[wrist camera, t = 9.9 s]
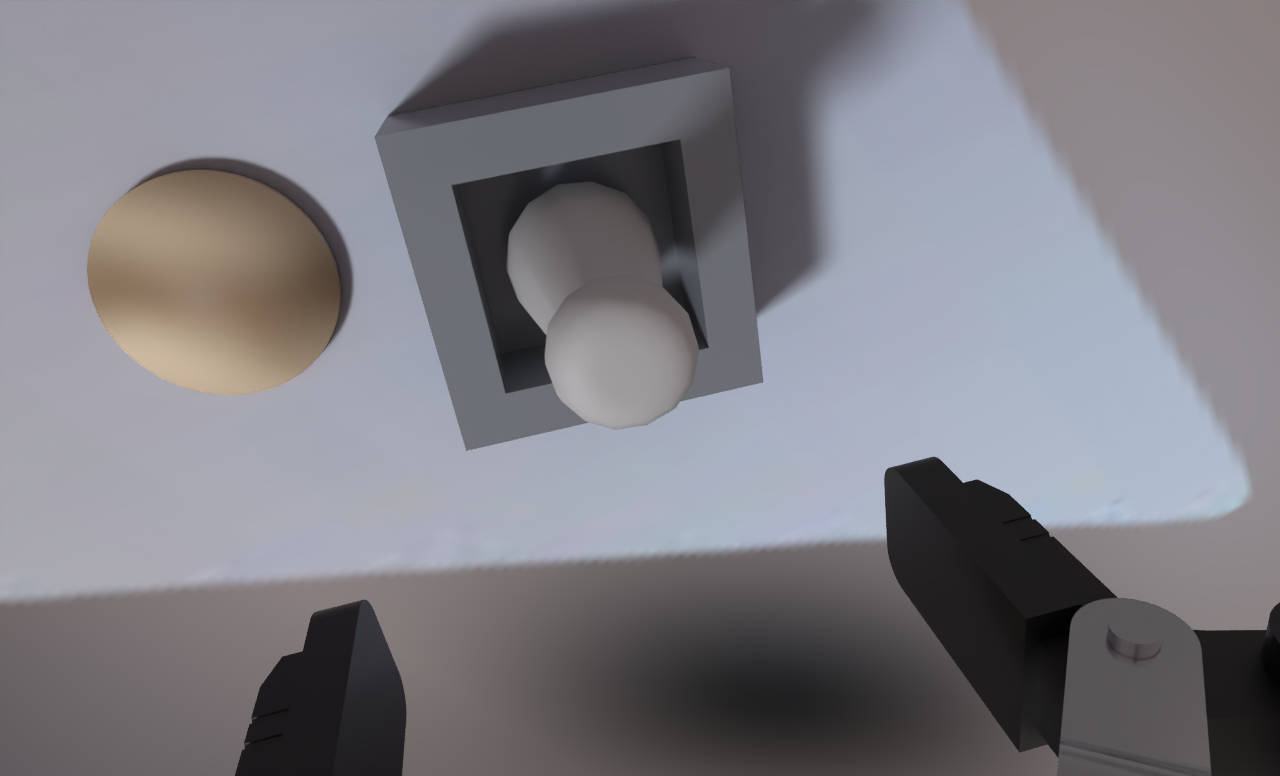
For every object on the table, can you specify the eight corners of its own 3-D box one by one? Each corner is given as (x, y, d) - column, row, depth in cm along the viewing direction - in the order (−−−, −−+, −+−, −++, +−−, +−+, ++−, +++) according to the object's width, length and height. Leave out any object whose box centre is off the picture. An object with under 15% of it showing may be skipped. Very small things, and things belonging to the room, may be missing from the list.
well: (387, 116, 32) (374, 136, 28) (694, 57, 33) (729, 68, 29) (466, 395, 38) (466, 450, 33) (729, 336, 39) (763, 382, 34)
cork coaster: (50, 195, 31) (43, 199, 31) (297, 147, 32) (295, 150, 32) (151, 410, 35) (146, 416, 35) (369, 362, 36) (368, 368, 36)
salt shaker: (601, 141, 33) (673, 223, 22) (671, 262, 36) (769, 393, 24) (474, 221, 34) (477, 344, 22) (552, 335, 36) (592, 499, 25)
